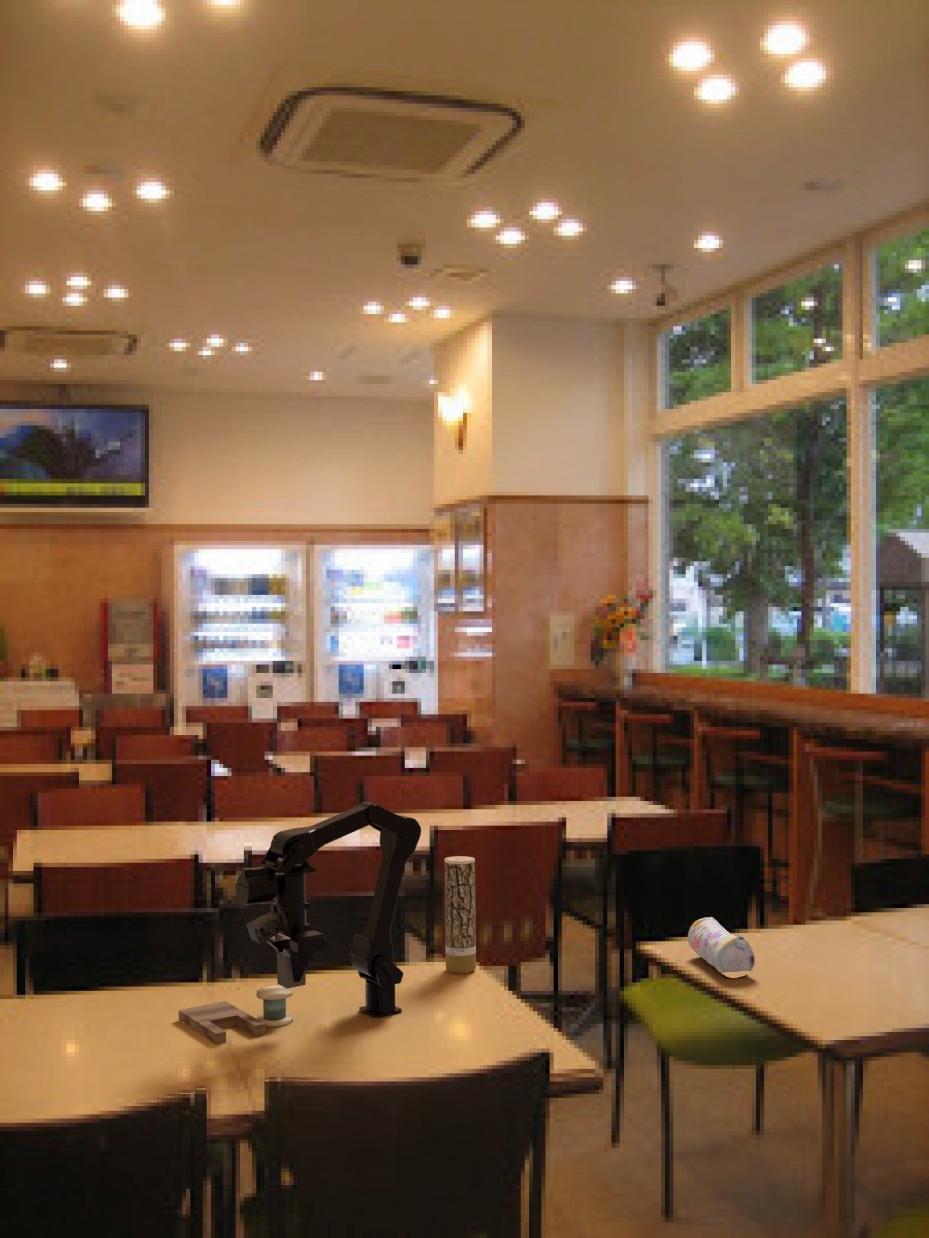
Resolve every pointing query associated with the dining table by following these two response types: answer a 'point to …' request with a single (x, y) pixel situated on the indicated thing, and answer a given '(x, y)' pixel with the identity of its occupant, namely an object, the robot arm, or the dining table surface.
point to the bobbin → (274, 1006)
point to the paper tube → (460, 914)
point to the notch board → (219, 1020)
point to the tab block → (287, 971)
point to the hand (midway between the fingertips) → (291, 979)
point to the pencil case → (720, 946)
